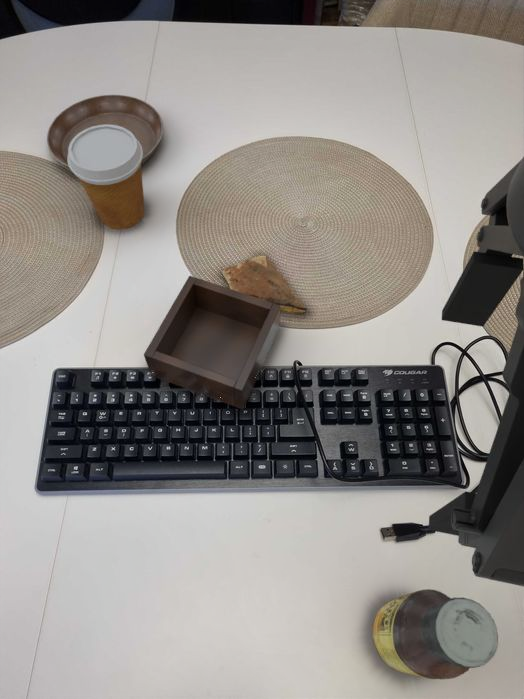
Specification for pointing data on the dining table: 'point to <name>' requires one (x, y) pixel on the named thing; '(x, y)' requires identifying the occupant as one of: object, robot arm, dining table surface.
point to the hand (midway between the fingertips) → (458, 414)
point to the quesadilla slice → (263, 283)
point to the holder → (214, 341)
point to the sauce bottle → (434, 634)
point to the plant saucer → (106, 122)
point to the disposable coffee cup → (110, 173)
